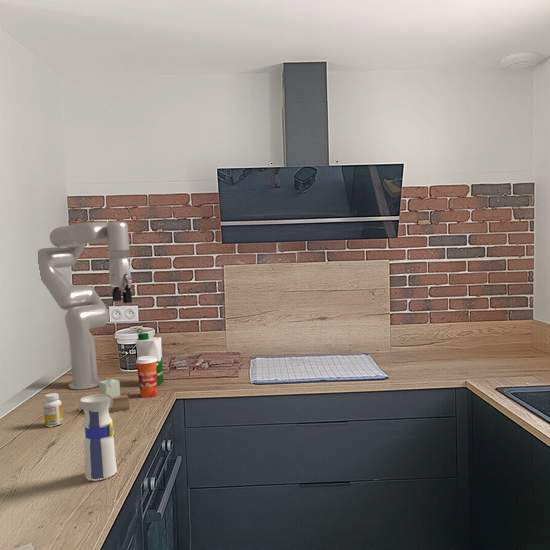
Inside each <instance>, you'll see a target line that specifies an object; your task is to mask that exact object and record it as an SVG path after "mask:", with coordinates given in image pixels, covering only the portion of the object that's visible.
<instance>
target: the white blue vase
mask: <svg viewBox="0 0 550 550" xmlns="http://www.w3.org/2000/svg"><path fill="white" fill-rule="evenodd" d="M110 379H111V378H110ZM110 379H109V377H108V376H106V378H105V380H106V381H105V380H104V381H105V382H104V384H105V385H106V390H107V389H108V388H111V385H110V383H111V380H112V379H113V378H112V379H111V380H110ZM78 405H79V408H80V409H82V410H83V412H84V420H83V422H82V426H83V427H84V441H83V450H84V454H83V455H84V477H85V476H86V477H88V478H91V479H92V478H93V479H98V478H99V479H100V478H106V477H109V476H112V475H114V474H115V473H116V472H117V473H118V469H117V460H116V451H115V440H114V438H115V437H114V434H115V422H113V419H112V418H111V415H110V414H109V407H111V408H112V405H113V398H112V396H111V395H109V394H100V393H96V394H90V395H86V396H83V397H81V398H80V400H79V404H78Z"/></svg>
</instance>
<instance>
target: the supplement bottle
mask: <svg viewBox="0 0 550 550" xmlns="http://www.w3.org/2000/svg"><path fill="white" fill-rule="evenodd" d="M44 399H45V402H44V403H43V413H44V414H43V417H44V425H49V426H51V425H58V424H61V423H63V424H64V418H63V403H62V401H61V400H60V396H59V393H56V392H54V393H53V392H52V393H48V394H45V395H44Z"/></svg>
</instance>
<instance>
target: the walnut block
mask: <svg viewBox="0 0 550 550" xmlns="http://www.w3.org/2000/svg"><path fill="white" fill-rule="evenodd" d="M129 401H130V400H129V396H128V395H127V394H126V393H125V391H124V390H120V396H117V397H113V405H112V408H111V407H109V413H112V414H114V413H113V412H118V413H120V412H119V411H123V412H127V410H129V411H130V402H129Z"/></svg>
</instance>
